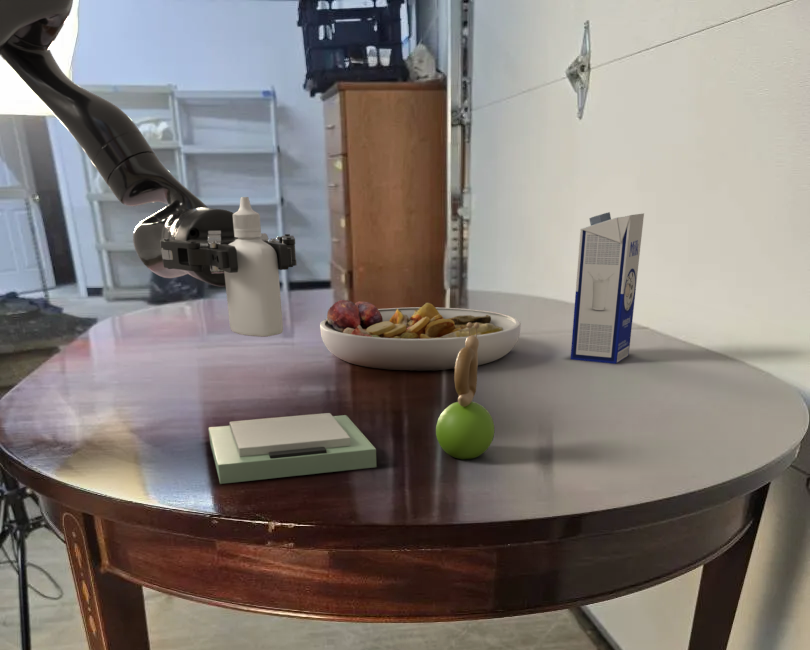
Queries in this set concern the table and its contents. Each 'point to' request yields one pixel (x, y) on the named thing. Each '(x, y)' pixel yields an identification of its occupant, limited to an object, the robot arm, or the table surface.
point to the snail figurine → (465, 409)
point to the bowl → (414, 335)
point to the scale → (288, 447)
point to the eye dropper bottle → (253, 279)
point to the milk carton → (606, 288)
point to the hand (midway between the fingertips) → (259, 258)
